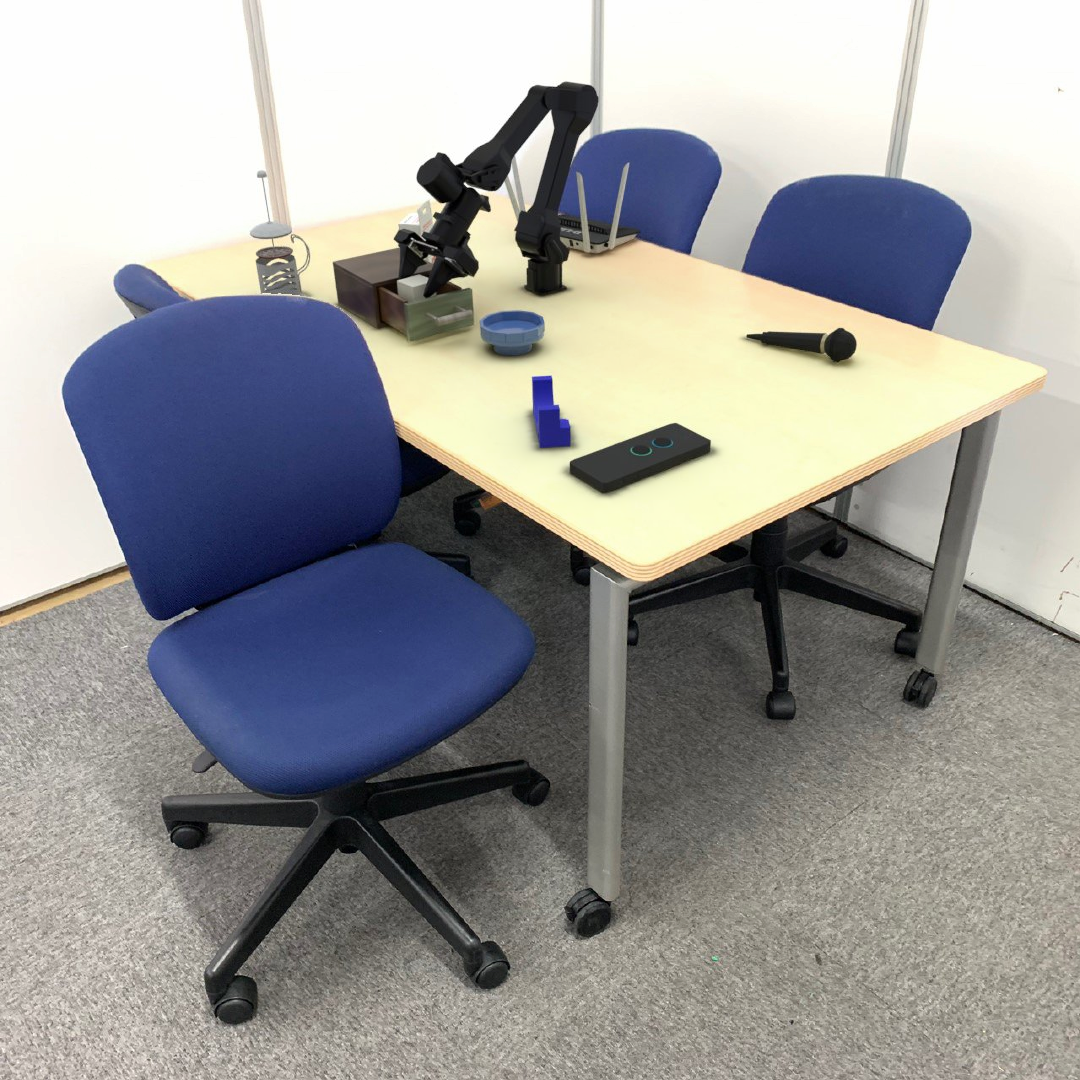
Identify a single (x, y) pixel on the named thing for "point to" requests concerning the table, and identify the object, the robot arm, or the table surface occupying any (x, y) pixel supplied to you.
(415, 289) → the white block
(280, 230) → the french press
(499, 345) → the blue bowl
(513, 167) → the wireless router
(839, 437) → the table surface
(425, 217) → the ink cartridge box
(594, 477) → the smart home device
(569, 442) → the blue stepped block
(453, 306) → the drawer
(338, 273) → the cabinet
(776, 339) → the microphone
